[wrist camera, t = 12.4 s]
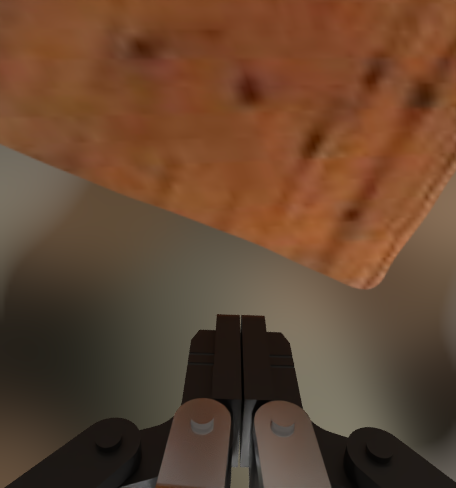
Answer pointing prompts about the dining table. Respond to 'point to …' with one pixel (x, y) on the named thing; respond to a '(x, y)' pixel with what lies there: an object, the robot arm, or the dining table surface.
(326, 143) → the dining table surface
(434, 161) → the dining table surface
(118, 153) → the dining table surface
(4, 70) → the dining table surface
